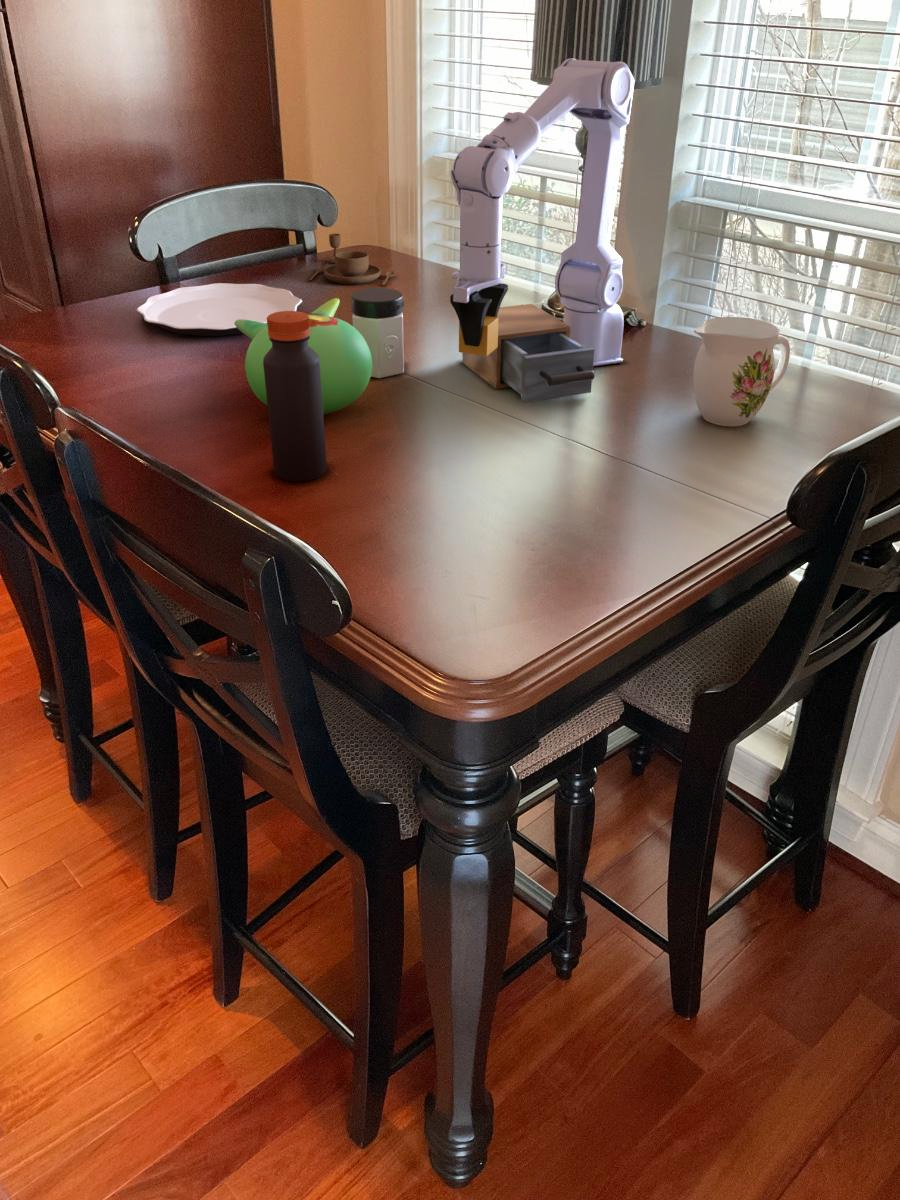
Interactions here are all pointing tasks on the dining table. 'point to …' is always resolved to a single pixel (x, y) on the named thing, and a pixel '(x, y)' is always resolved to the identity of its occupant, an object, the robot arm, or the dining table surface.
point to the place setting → (350, 266)
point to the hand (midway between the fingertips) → (478, 340)
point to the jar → (381, 328)
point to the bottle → (294, 399)
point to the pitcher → (736, 368)
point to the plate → (215, 307)
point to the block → (487, 341)
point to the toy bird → (337, 350)
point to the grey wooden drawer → (546, 366)
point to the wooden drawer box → (513, 325)
